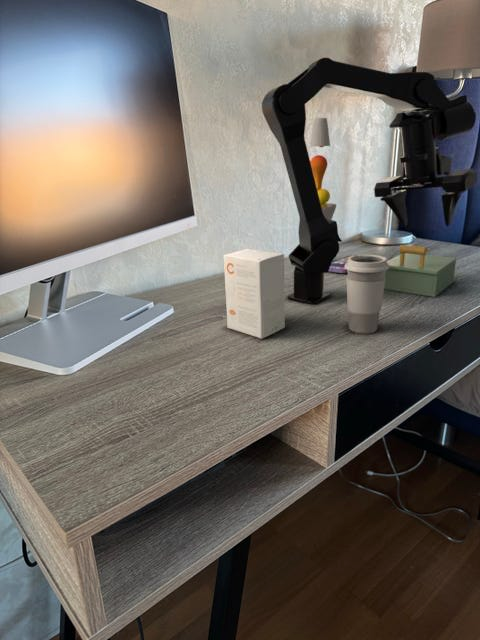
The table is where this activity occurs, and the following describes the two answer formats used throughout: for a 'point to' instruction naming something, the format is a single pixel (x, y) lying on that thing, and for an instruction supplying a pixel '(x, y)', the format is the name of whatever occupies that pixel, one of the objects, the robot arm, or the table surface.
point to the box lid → (419, 260)
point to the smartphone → (339, 265)
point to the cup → (365, 291)
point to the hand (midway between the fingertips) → (426, 225)
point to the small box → (255, 292)
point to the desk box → (419, 281)
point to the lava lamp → (321, 164)
